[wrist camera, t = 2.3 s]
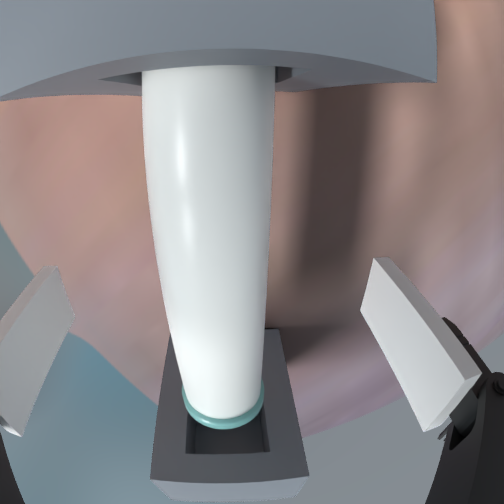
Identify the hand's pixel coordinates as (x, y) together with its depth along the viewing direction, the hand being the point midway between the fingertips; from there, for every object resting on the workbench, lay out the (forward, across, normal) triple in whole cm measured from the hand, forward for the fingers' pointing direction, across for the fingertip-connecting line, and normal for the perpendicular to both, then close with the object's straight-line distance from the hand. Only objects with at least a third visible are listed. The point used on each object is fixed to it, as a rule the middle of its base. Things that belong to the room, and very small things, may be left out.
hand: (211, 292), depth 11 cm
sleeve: (+8, 0, +12) cm, 14 cm away
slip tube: (+2, 0, +5) cm, 6 cm away
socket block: (+9, 0, -13) cm, 16 cm away
